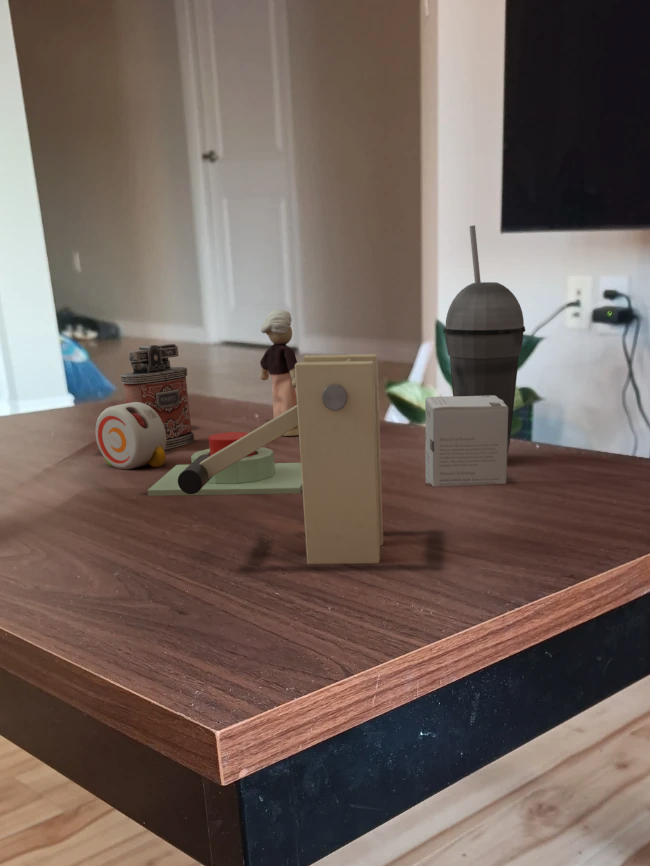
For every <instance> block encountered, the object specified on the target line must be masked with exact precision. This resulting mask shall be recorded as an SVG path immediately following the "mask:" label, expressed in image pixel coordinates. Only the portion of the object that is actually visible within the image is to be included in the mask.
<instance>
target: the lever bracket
mask: <svg viewBox="0 0 650 866" xmlns="http://www.w3.org/2000/svg"><path fill="white" fill-rule="evenodd" d="M348 359H351V360H352V361H346V360H348ZM378 363H379V361H378V354H377V353H352V354H350V353H349V354H348V353H347V354H346V353H345V354H344V353H343V354H305V355H304V356H303V357H302V362H301V361H299V362H298V361H297V363H296V364H295V379H296V388H295V391H296V396H297V410H298V426H299V435H298V439H299V440H298V441H299V456H300V463H301V473H302V502H303V518H304V519H303V520H304V534H305V550H306V551H305V553H306V564H307V565H355V564H356V565H357V564H358V565H359V564H360V565H361V564H363V565H364V564H365V565H366V564H367V565H368V564H369V565H370V564H380V560H381V547H382V546H383V545H384V522H383V521H384V520H383V519H384V518H383V491H382V490H383V489H382V488H383V487H382V463H381V462H382V459H381V458H382V457H381V454H382V453H381V427H380V426H381V425H380V424H381V423H380V421H381V420H380V399H379V398H380V395H379V394H380V393H379V392H380V391H379V364H378Z"/></svg>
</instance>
